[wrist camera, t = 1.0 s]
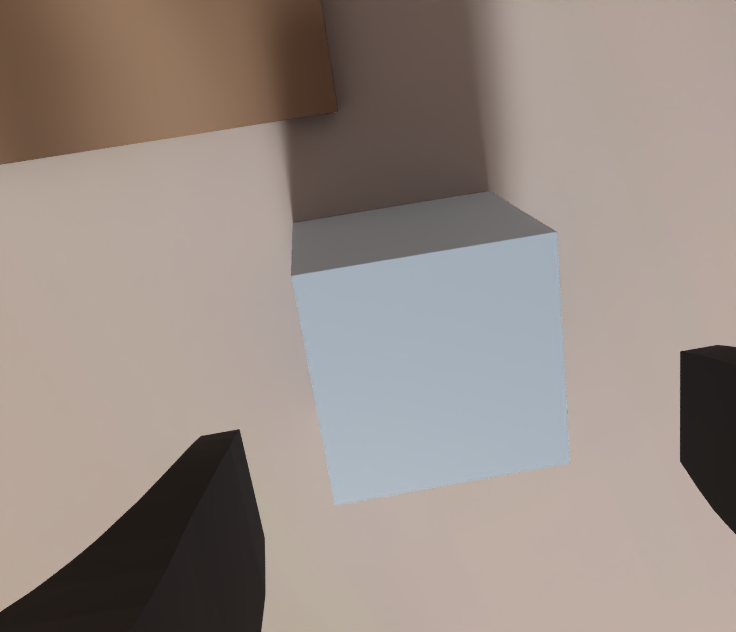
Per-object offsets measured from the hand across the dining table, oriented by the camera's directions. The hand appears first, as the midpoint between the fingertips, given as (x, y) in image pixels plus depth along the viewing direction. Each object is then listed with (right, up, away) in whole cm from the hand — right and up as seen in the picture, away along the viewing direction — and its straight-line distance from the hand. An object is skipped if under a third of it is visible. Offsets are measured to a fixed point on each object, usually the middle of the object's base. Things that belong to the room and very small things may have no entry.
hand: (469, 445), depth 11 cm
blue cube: (-1, +2, +7) cm, 8 cm away
